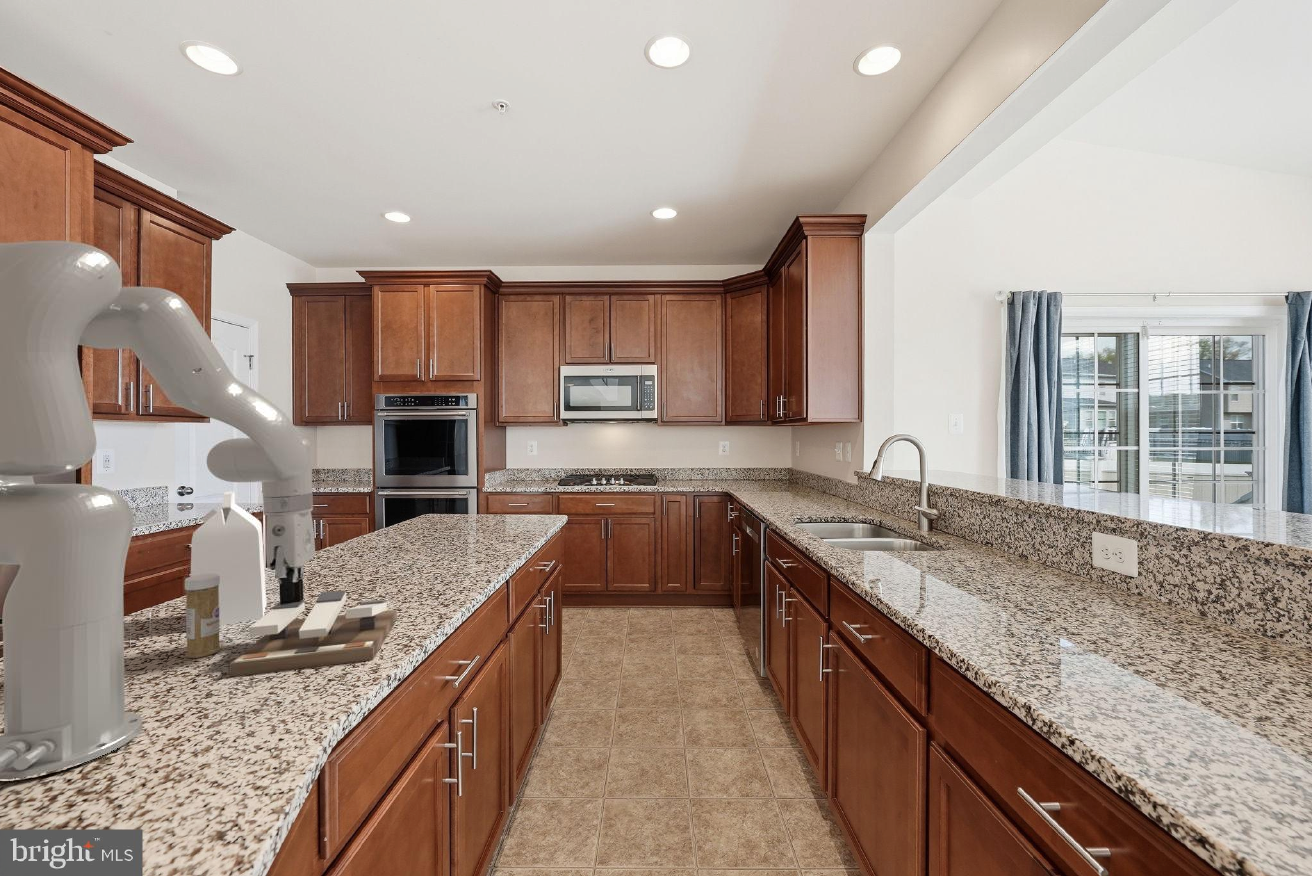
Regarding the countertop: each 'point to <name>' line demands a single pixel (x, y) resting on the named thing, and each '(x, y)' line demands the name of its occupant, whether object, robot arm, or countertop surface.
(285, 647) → the switch unit
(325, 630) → the rocker middle
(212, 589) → the sprinkles bottle
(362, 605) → the block
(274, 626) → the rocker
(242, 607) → the milk
